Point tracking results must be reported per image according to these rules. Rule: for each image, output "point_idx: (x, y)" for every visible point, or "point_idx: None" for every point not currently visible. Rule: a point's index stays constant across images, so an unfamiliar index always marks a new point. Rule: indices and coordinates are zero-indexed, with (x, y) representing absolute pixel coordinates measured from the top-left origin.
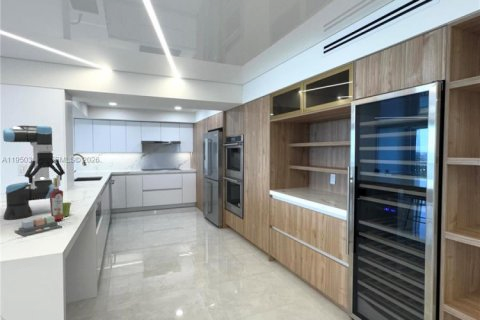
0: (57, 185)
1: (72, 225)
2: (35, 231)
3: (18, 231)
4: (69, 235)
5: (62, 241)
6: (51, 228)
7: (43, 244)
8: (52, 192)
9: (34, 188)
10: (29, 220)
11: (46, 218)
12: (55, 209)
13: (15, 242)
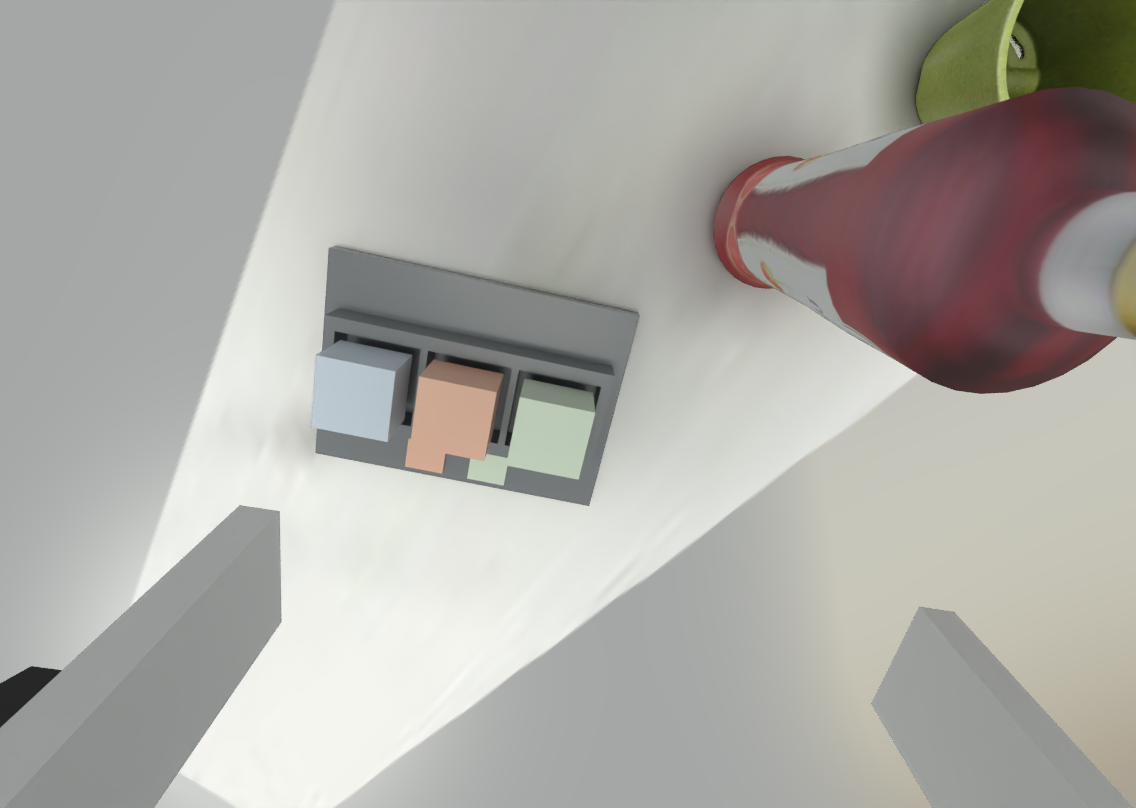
0: (911, 643)
1: (664, 520)
2: (402, 448)
3: (335, 306)
4: (475, 690)
5: (385, 737)
6: (508, 489)
7: (303, 691)
8: (897, 296)
9: (266, 633)
10: (383, 375)
11: (507, 459)
12: (771, 279)
13: (229, 512)
